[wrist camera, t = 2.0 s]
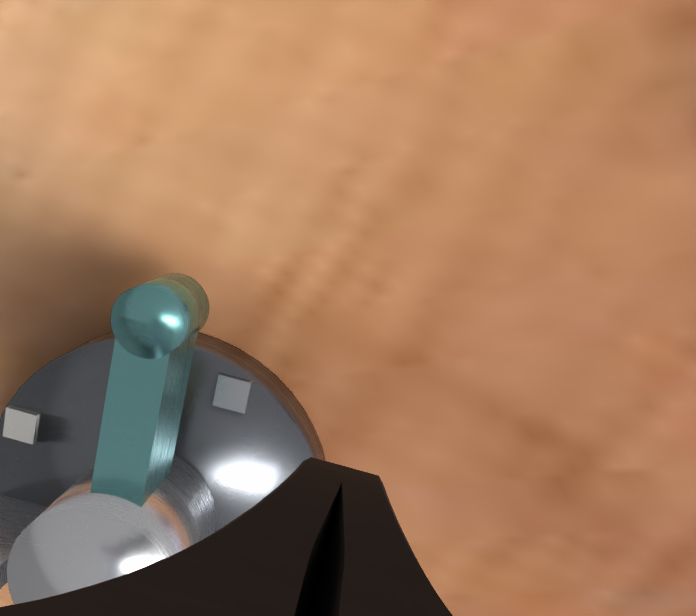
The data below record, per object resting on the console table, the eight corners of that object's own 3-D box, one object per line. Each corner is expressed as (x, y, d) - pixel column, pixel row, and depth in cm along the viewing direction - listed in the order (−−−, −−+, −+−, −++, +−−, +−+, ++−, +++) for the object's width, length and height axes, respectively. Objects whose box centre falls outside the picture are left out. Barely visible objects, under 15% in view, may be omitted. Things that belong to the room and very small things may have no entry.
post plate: (289, 657, 22) (259, 778, 17) (0, 573, 22) (-100, 671, 18) (364, 377, 19) (351, 436, 15) (36, 288, 20) (-70, 321, 15)
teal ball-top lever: (201, 589, 19) (156, 680, 16) (71, 551, 20) (-2, 633, 16) (267, 289, 17) (231, 319, 14) (119, 249, 17) (45, 269, 14)
